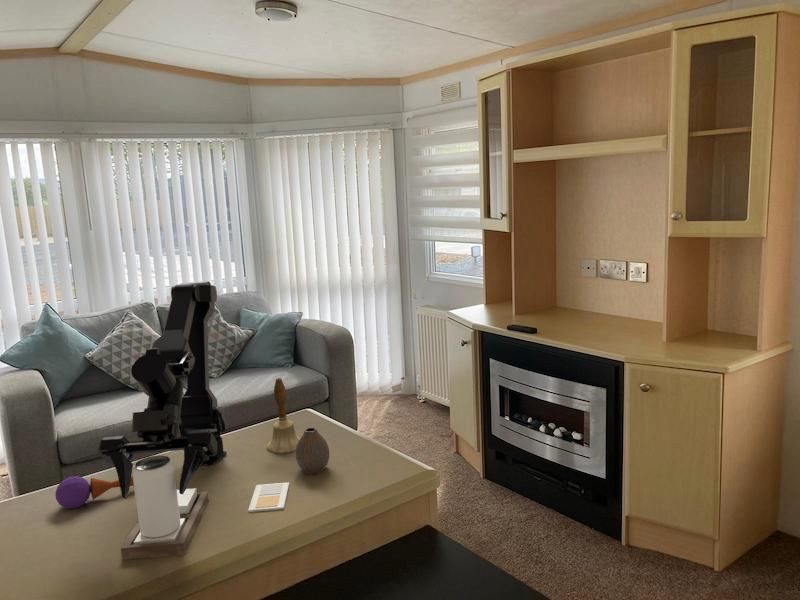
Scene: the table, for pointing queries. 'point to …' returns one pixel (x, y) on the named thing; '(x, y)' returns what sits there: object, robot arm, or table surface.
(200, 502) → the button board
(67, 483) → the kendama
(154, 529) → the can
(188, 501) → the inner pad
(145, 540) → the outer pad
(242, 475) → the table surface
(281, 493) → the pattern card
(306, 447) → the vase
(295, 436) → the hand bell
